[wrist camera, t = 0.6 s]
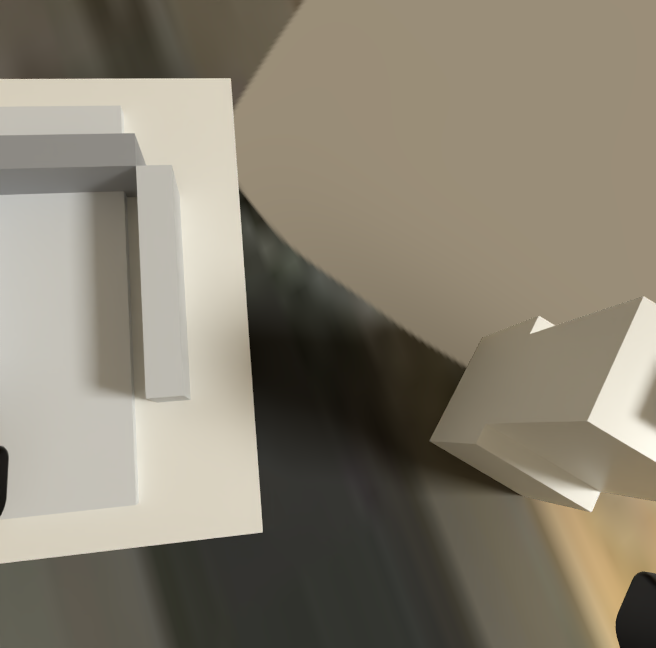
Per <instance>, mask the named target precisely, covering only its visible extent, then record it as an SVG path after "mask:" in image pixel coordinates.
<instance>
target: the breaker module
mask: <svg viewBox="0 0 656 648" xmlns="http://www.w3.org/2000/svg"><path fill="white" fill-rule="evenodd" d="M429 441H430V442H432V443H433V444H435V445H437V446H438V447H440V448H442V449H443V450H445V451H447V452H449V453H450V454H452V455H454V456H455V457H457V458H459V459H460V460H462V461H464V462H465V463H467V464H469V465H471V466H472V467H474V468H476V469H477V470H479V471H481V472H482V473H484V474H486V475H488V476H489V477H491V478H493V479H494V480H496V481H498V482H499V483H501V484H503V485H505V486H506V487H508V488H510V489H511V490H513V491H515V492H516V493H518V494H520V495H521V496H524V497H528V498H533V499H537V500H541V501H545V502H550V503H554V504H558V505H563V506H567V507H571V508H575V509H580V510H584V511H588V512H592V510H593V508H594V505H595V503H596V501H597V498H598V496H599V494H600V492H605V493H610V494H616V495H622V496H628V497H634V498H640V499H645V500H651V501H656V304H655V303H654V302H652V301H651V300H649V299H647V298H646V297H644V296H643V297H640V298H637V299H634V300H631V301H628V302H625V303H622V304H619V305H616V306H613V307H610V308H607V309H604V310H601V311H598V312H595V313H592V314H589V315H586V316H583V317H580V318H577V319H574V320H571V321H568V322H565V323H562V324H559V325H556V326H555V325H553V324H552V323H550V322H548V321H547V320H545V319H543V318H542V317H540V316H537V317H534V318H532V319H529V320H526V321H524V322H521V323H519V324H516V325H513V326H511V327H508V328H506V329H503V330H500V331H498V332H495V333H493V334H490V335H487V336H485V337H482V339H481V341H480V343H479V345H478V347H477V349H476V351H475V353H474V355H473V357H472V359H471V361H470V362H469V364H468V366H467V368H466V370H465V372H464V374H463V376H462V378H461V380H460V382H459V384H458V386H457V388H456V390H455V392H454V394H453V396H452V398H451V399H450V401H449V403H448V405H447V407H446V409H445V411H444V413H443V415H442V417H441V419H440V421H439V423H438V425H437V427H436V429H435V431H434V433H433V435H432V437H431V438H430V440H429Z"/></svg>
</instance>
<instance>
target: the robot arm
mask: <svg viewBox="0 0 656 648" xmlns="http://www.w3.org/2000/svg"><path fill="white" fill-rule="evenodd" d="M8 467H9V454H8V451H7V449H6V448H5V447H4V446H0V516H1V515H2V512H3V510H4V507H5V504H6V499H7V485H8ZM616 634H617V638H618V642H619V645H620V648H656V574H655V573H649V572H640V573H638V574H636V575H635V576H634V578H633V580H632V582H631V584H630V587H629V589H628V591H627V593H626V596H625V598H624V600H623V603H622V605H621V607H620V610H619V612H618V615H617V618H616Z"/></svg>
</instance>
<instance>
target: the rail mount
mask: <svg viewBox="0 0 656 648" xmlns="http://www.w3.org/2000/svg"><path fill="white" fill-rule="evenodd" d="M0 446H4V447H5V448H6V449H7V451H8V454H9V467H8V485H7V499H6V504H5V507H4V510H3V512H2V515H1V516H0V563H9V562H17V561H25V560H34V559H42V558H51V557H59V556H67V555H76V554H84V553H93V552H101V551H109V550H118V549H126V548H135V547H143V546H152V545H160V544H168V543H177V542H185V541H194V540H202V539H210V538H219V537H227V536H236V535H244V534H252V533H261V532H263V528H262V514H261V500H260V486H259V472H258V457H257V443H256V429H255V415H254V401H253V387H252V373H251V358H250V344H249V330H248V316H247V302H246V288H245V274H244V259H243V245H242V231H241V217H240V203H239V189H238V176H237V160H236V146H235V133H234V118H233V104H232V90H231V78H204V79H0Z"/></svg>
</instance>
